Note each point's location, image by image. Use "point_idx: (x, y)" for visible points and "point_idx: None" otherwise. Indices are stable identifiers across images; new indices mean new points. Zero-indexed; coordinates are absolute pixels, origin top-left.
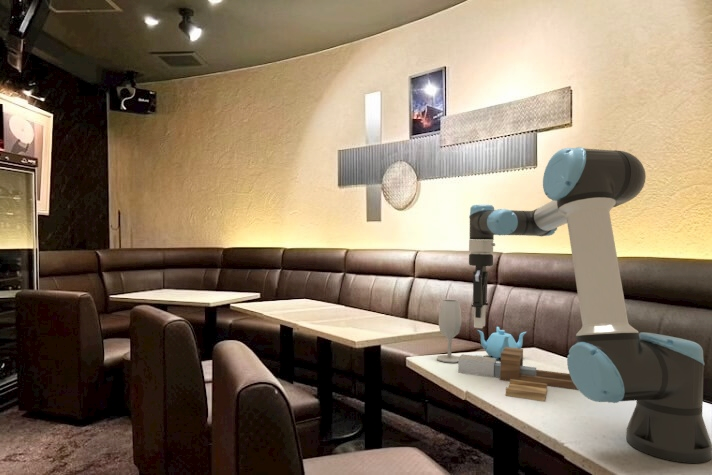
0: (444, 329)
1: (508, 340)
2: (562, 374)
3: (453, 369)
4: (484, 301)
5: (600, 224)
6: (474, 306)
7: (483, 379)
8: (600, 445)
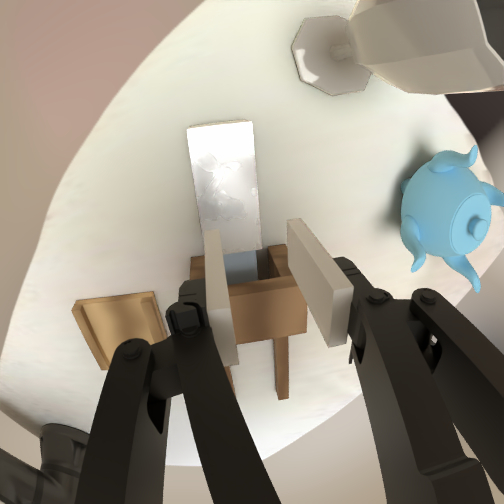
0: (351, 15)
1: (439, 248)
2: (277, 369)
3: (220, 98)
4: (356, 363)
5: None
6: (177, 327)
7: (163, 218)
8: (23, 405)
